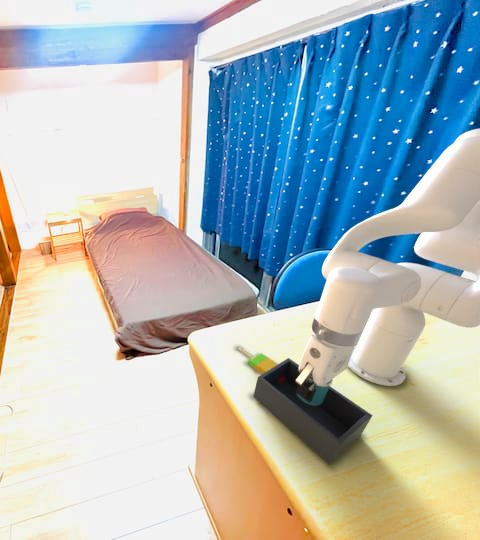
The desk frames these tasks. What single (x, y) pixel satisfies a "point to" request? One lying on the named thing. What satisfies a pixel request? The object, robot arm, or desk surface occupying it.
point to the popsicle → (261, 363)
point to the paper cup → (317, 393)
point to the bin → (311, 412)
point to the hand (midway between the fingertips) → (311, 390)
